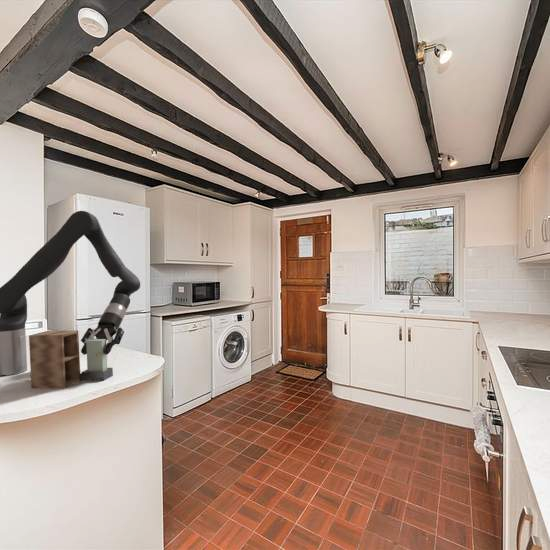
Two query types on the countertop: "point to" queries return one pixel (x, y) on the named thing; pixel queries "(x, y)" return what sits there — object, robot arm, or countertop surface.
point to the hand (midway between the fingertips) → (94, 353)
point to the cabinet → (54, 359)
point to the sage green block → (96, 355)
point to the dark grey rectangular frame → (96, 375)
